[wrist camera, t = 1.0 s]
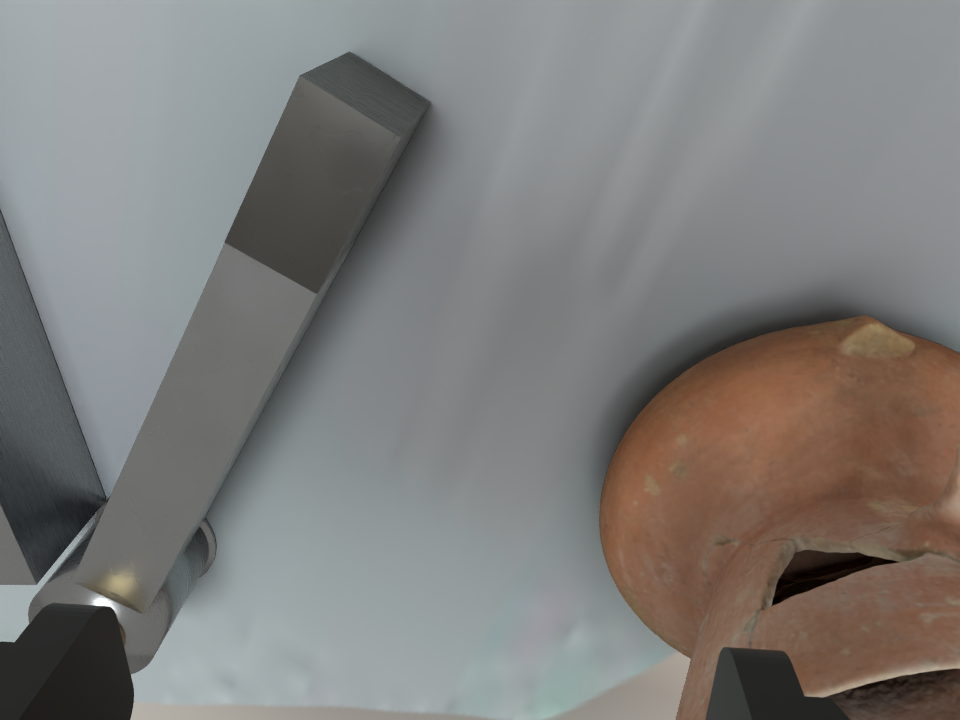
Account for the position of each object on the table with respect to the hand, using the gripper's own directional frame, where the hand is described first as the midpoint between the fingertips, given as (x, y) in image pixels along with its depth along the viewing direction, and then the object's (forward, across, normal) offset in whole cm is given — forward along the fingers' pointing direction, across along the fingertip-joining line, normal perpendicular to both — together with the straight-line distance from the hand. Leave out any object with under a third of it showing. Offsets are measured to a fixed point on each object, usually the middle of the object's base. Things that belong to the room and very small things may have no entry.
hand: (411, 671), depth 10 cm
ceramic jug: (+18, -12, +8) cm, 23 cm away
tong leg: (+18, +9, +5) cm, 21 cm away
